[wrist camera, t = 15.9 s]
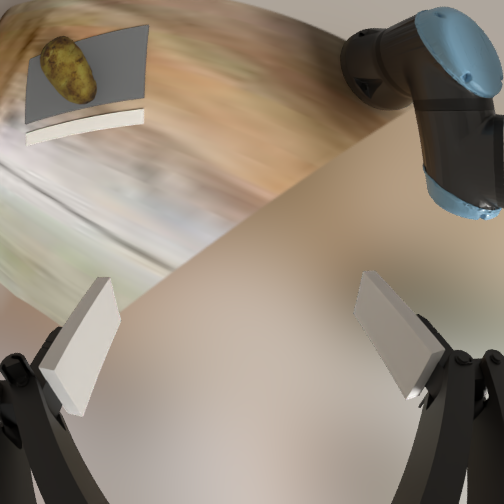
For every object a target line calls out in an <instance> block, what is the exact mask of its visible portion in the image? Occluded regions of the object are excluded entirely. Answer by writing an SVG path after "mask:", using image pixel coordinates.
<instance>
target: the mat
mask: <svg viewBox="0 0 504 504" xmlns="http://www.w3.org/2000/svg"><path fill="white" fill-rule="evenodd" d="M148 32H149V25H145V26H139V27H133V28H128V29H123V30H119V31H114V32H110V33H106V34H102V35H98V36H94V37H91V38H87V39H84V40H80V41H77V42H74V43H75V44H76V45H77V46H78V47H79V48H80V49H81V51H82V52H83V54H84V56H85V58H86V60H87V62H88V64H89V65H90V68H91V70H92V75H93V77H94V80H96V83H97V93H96V96H95V99H94V100H93V101H91V102H89V103H87V104H75V103H72V102H69V101H67V100H66V99H65V98H64V97H63V96H62V95H61V94H59V93H58V91H57V90H56V89H55V88H54V86H53V85H52V84H51V83H50V82H49V80H48V79H47V77H46V76H45V74H44V73H43V71H42V69H41V66H40V56H41V55H39V56H36V57H34V58H32V59H30V61H29V69H28V78H27V90H26V109H25V124H28V123H31V122H35V121H38V120H41V119H44V118H48V117H51V116H55V115H59V114H62V113H66V112H70V111H74V110H79V109H83V108H88V107H92V106H97V105H103V104H108V103H114V102H120V101H126V100H133V99H141V98H144V91H145V69H146V54H147V42H148Z"/></svg>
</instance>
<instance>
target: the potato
mask: <svg viewBox="0 0 504 504" xmlns="http://www.w3.org/2000/svg"><path fill="white" fill-rule="evenodd" d="M40 66H41V69H42V71H43V73H44V74H45V76H46V77H47V79H48V80H49V82H50V83H51V84H52V85H53V86H54V88H55V89H56V90H57V91H58V93H59V94H61V95H62V96H63V97H64V98H65V99H66V100H67V101H69V102H72V103H75V104H87V103H89V102H91V101H93V100H94V99H95V96H96V93H97V83H96V80H94V77H93V75H92V70H91V68H90V65H89V64H88V62H87V60H86V58H85V56H84V54H83V52H82V51H81V49H80V48H79V47H78V46H77V45H76V44H75V43H74V42H73V41H72V40H71V39H69V38H68V37H66V36H62V37H58V38H55V39H54V40H52V41H50V42H49V43H48V44H47V45H46V46H45V47H44V49H43V51H42V53H41V56H40Z"/></svg>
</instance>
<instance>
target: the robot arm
mask: <svg viewBox="0 0 504 504" xmlns="http://www.w3.org/2000/svg"><path fill="white" fill-rule="evenodd" d="M341 67H342V71H343V74H344V77H345V79H346V81H347V83H348V85H349V87H350V88H351V89H352V91H353V92H354V93H355V94H356V95H357V96H358V97H359V98H360V99H361V100H362V101H364V102H365V103H366V104H368V105H370V106H372V107H374V108H377V109H381V110H398V109H402V108H405V107H407V106H409V105H410V104H411V103H413V104H414V108H415V114H416V119H417V124H418V129H419V135H420V142H421V148H422V156H423V170H424V173H425V176H426V182H427V189H428V193H429V195H430V196H431V198H432V199H433V200H434V202H435V203H436V204H437V205H439V206H440V207H442V208H443V209H445V210H446V211H448V212H450V213H452V214H455V215H458V216H461V217H464V218H468V219H474V220H478V219H479V218H482V219H484V220H488V219H492V218H494V217H496V216H497V215H498V214H499V212H500V211H501V209H502V208H504V115H497V114H495V110H494V104H493V97H494V96H495V95H497V94H498V93H499V92H500V90H501V88H502V82H501V80H502V79H503V73H502V67H501V63H500V60H499V57H498V55H497V53H496V50H495V48H494V46H493V45H492V43H491V41H490V40H489V38H488V37H487V35H486V34H485V33H484V31H483V30H482V29H481V28H480V27H479V26H478V25H477V24H476V23H475V22H474V21H473V20H472V19H471V18H470V17H468V16H467V15H465V14H463V13H462V12H460V11H458V10H456V9H454V8H450V7H437V8H434V9H431V10H424V11H421V12H418V13H417V14H416V15H414V16H412V17H410V18H408V19H405V20H403V21H401V22H399V23H397V24H395V25H393V26H391V27H389V28H387V29H381V28H380V29H379V28H373V29H372V28H370V29H365V30H362V31H359V32H358V33H356V34H354V35H353V36H351V37H350V38H349V39H348V40H347V41H346V42H345V44H344V46H343V49H342V52H341ZM353 314H354V315H355V317H356V318H357V320H358V322H359V323H360V325H361V326H362V328H363V329H364V331H365V333H366V334H367V336H368V337H369V339H370V341H371V342H372V344H373V345H374V347H375V349H376V350H377V352H378V353H379V355H380V357H381V358H382V360H383V362H384V363H385V365H386V367H387V368H388V370H389V372H390V373H391V375H392V377H393V379H394V380H395V382H396V384H397V385H398V387H399V389H400V390H401V392H402V394H403V396H404V397H405V399H406V400H407V399H410V398H413V397H416V396H419V395H420V393H421V392H422V390H423V389H424V387H426V388H427V390H428V393H427V394H426V396H425V397H424V399H423V400H422V402H421V403H420V405H419V408H421V406H422V405H423V404H424V405H423V409H422V414H421V418H420V422H419V426H418V429H417V433H416V437H415V440H414V443H413V447H412V450H411V453H410V456H409V459H408V462H407V465H406V468H405V471H404V474H403V476H402V479H401V482H400V484H399V486H398V489H397V491H396V494H395V496H394V498H393V501H392V503H391V504H459V500H460V496H461V492H462V488H463V484H464V480H465V475H466V470H467V482H468V485H467V487H468V488H467V504H504V356H503V355H502V354H501V353H500V352H499V351H497V350H493V349H491V350H488V351H486V353H485V354H484V356H483V358H482V359H473V358H472V357H471V356H470V355H469V354H468V353H466V352H464V351H462V350H453V349H452V348H451V347H450V345H449V344H448V343H447V342H446V341H445V339H444V338H443V337H442V336H441V335H440V334H439V333H437V330H436V329H435V328H433V326H432V325H431V324H430V323H429V321H428V320H427V319H425V318H424V317H422V316H420V315H419V314H415V313H414V312H413V311H412V310H411V309H410V308H409V306H408V305H407V304H406V303H405V302H404V301H403V300H402V299H401V298H400V297H399V296H398V295H397V293H396V292H395V291H394V290H393V289H392V288H391V287H390V286H389V285H388V284H387V283H386V282H385V281H384V280H383V279H382V277H381V276H380V275H379V274H378V273H377V272H376V271H363V274H362V278H361V283H360V288H359V292H358V296H357V301H356V305H355V309H354V313H353ZM120 322H121V318H120V314H119V311H118V307H117V303H116V299H115V295H114V291H113V287H112V282H111V278H110V277H97V279H96V280H95V281H94V283H93V284H92V285H91V287H90V288H89V290H88V291H87V292H86V294H85V295H84V297H83V298H82V299H81V301H80V302H79V304H78V305H77V307H76V308H75V309H74V311H73V312H72V314H71V315H70V317H69V318H68V320H67V321H66V323H65V324H64V326H63V327H57V328H56V329H55V330H54V331H52V332H51V333H50V334H49V336H48V338H47V339H46V342H44V344H43V345H42V348H41V349H40V350H39V352H38V353H37V355H36V356H35V358H34V360H33V362H32V363H31V365H29V364H28V362H27V360H26V358H25V357H24V355H22V354H20V353H14V354H10V355H9V356H7V357H6V358H5V359H4V360H3V361H2V362H1V364H0V372H1V373H2V375H3V376H4V378H5V379H6V380H0V504H37V503H36V498H35V493H34V488H33V482H32V476H31V470H32V473H33V476H34V478H35V481H36V483H37V486H38V488H39V490H40V493H41V495H42V497H43V499H44V502H45V504H109V502H108V501H107V499H106V498H105V496H104V495H103V493H102V492H101V490H100V489H99V487H98V485H97V484H96V482H95V480H94V479H93V477H92V475H91V473H90V472H89V470H88V468H87V466H86V464H85V463H84V461H83V459H82V457H81V455H80V453H79V451H78V449H77V447H76V445H75V443H74V441H73V439H72V436H71V434H70V432H69V430H68V428H67V425H66V423H65V421H64V418H63V416H62V414H61V413H60V409H61V407H62V405H63V407H64V408H65V409H66V411H67V412H68V413H69V414H73V415H78V416H82V417H83V416H84V413H85V410H86V407H87V404H88V401H89V398H90V396H91V393H92V391H93V388H94V385H95V382H96V380H97V377H98V375H99V372H100V370H101V367H102V365H103V362H104V359H105V357H106V355H107V352H108V350H109V348H110V345H111V343H112V340H113V338H114V336H115V334H116V331H117V329H118V327H119V324H120ZM487 392H488V394H489V398H488V399H487V400H486V398H485V395H486V393H487ZM30 468H31V469H30Z"/></svg>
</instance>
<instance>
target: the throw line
mask: <svg viewBox="0 0 504 504" xmlns="http://www.w3.org/2000/svg"><path fill="white" fill-rule="evenodd" d="M138 124H144V109H138V110H130V111H123V112H117V113H111V114H105V115H99V116H94V117H89V118H84V119H79V120H75V121H70V122H66V123H62V124H58V125H54V126H50V127H46V128H43V129H39V130H36V131H33V132H29V133H26V146H29V145H33V144H37V143H40V142H44V141H48V140H52V139H57V138H61V137H65V136H70V135H75V134H80V133H85V132H90V131H96V130H102V129H108V128H115V127H122V126H130V125H138Z"/></svg>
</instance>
